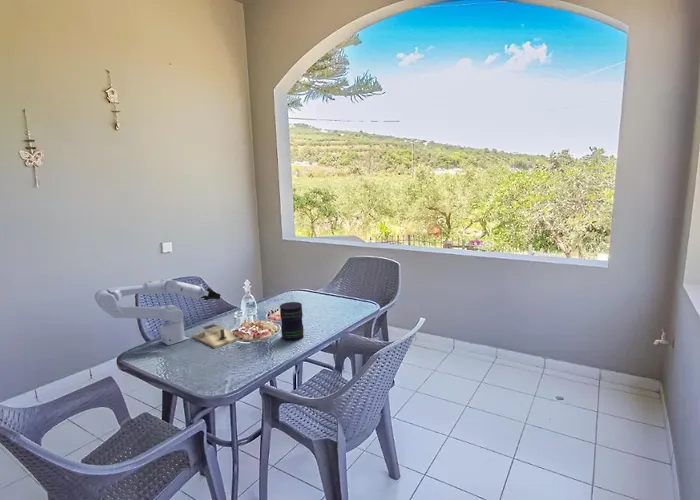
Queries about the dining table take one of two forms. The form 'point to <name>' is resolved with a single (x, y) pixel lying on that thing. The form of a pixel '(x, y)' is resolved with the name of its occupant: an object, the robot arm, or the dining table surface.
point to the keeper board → (216, 338)
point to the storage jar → (291, 321)
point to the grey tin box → (209, 329)
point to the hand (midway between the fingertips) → (216, 296)
